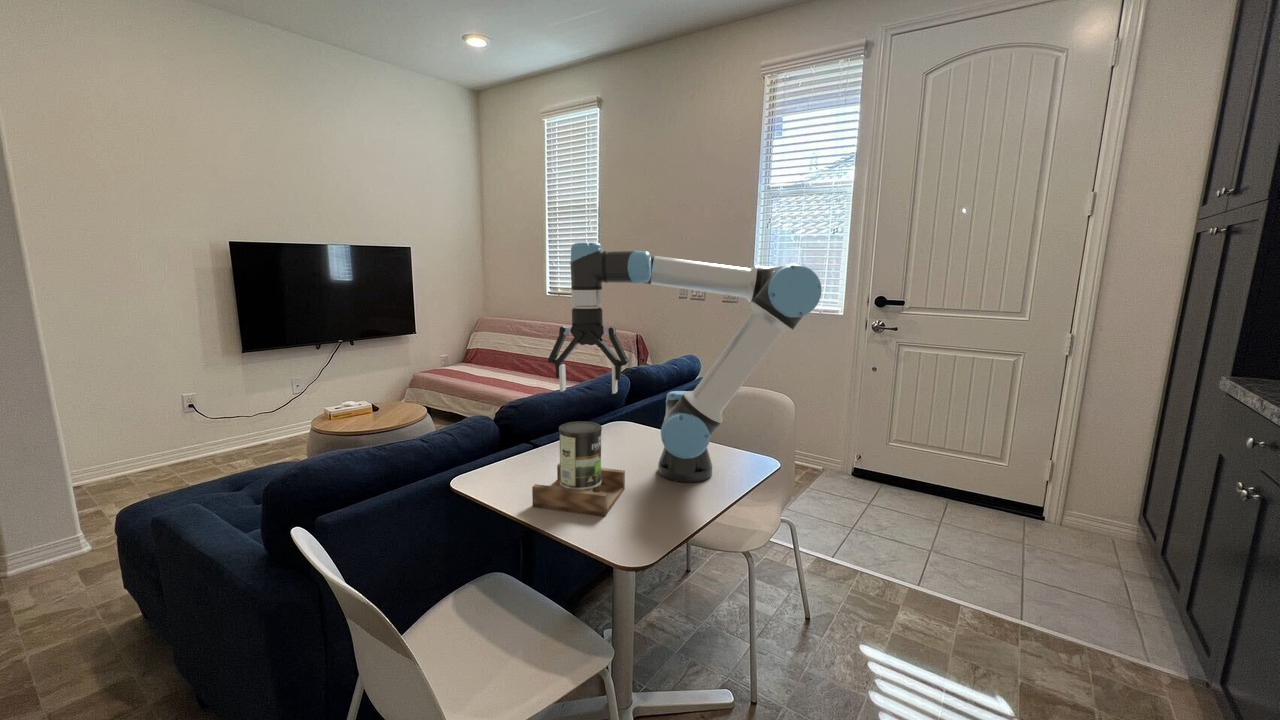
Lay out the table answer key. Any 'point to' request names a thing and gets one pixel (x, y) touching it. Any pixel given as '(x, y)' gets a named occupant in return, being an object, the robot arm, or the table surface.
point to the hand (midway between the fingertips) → (588, 391)
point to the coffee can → (580, 455)
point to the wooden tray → (581, 494)
